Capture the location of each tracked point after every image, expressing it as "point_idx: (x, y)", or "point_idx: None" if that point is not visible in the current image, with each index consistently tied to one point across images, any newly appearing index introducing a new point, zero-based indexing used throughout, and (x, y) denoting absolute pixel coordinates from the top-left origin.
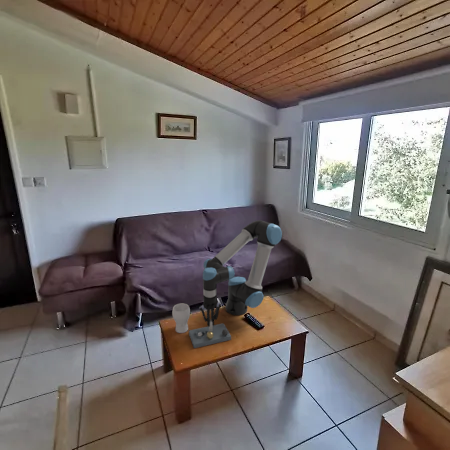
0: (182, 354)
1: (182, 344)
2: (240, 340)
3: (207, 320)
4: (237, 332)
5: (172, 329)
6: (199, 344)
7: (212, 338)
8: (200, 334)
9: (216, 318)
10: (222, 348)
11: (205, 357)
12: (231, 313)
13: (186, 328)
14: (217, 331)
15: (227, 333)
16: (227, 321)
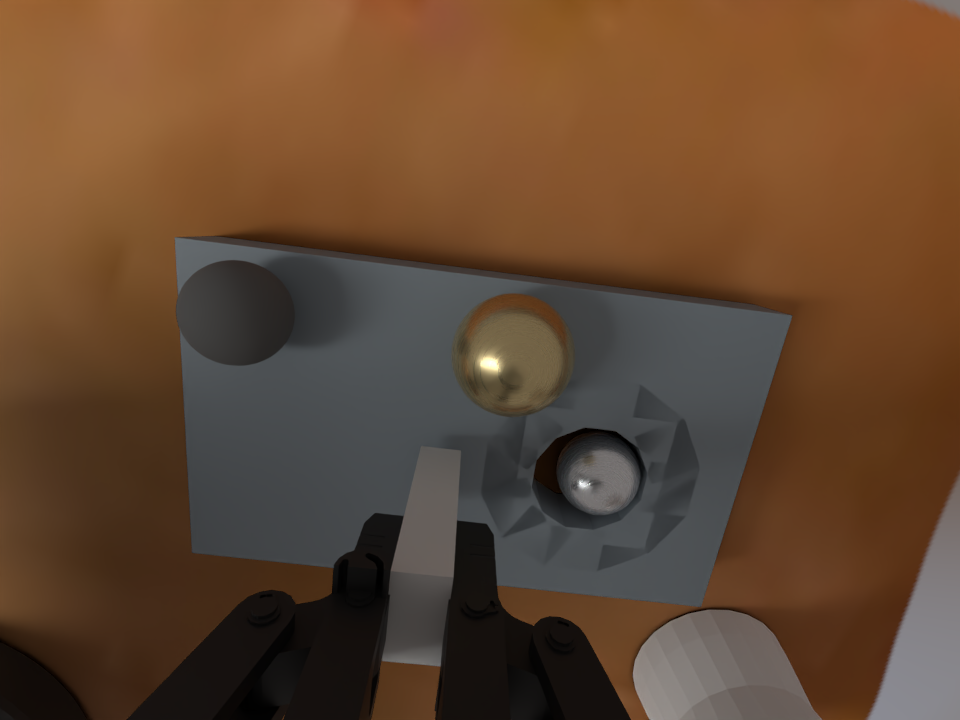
0: (939, 263)
1: (836, 435)
2: (82, 156)
3: (505, 643)
4: (74, 337)
5: None
6: (698, 300)
7: None
8: (611, 465)
9: (250, 616)
10: (403, 116)
11: (711, 49)
12: (35, 684)
13: (692, 652)
14: (344, 429)
15: (205, 267)
16: (141, 581)
